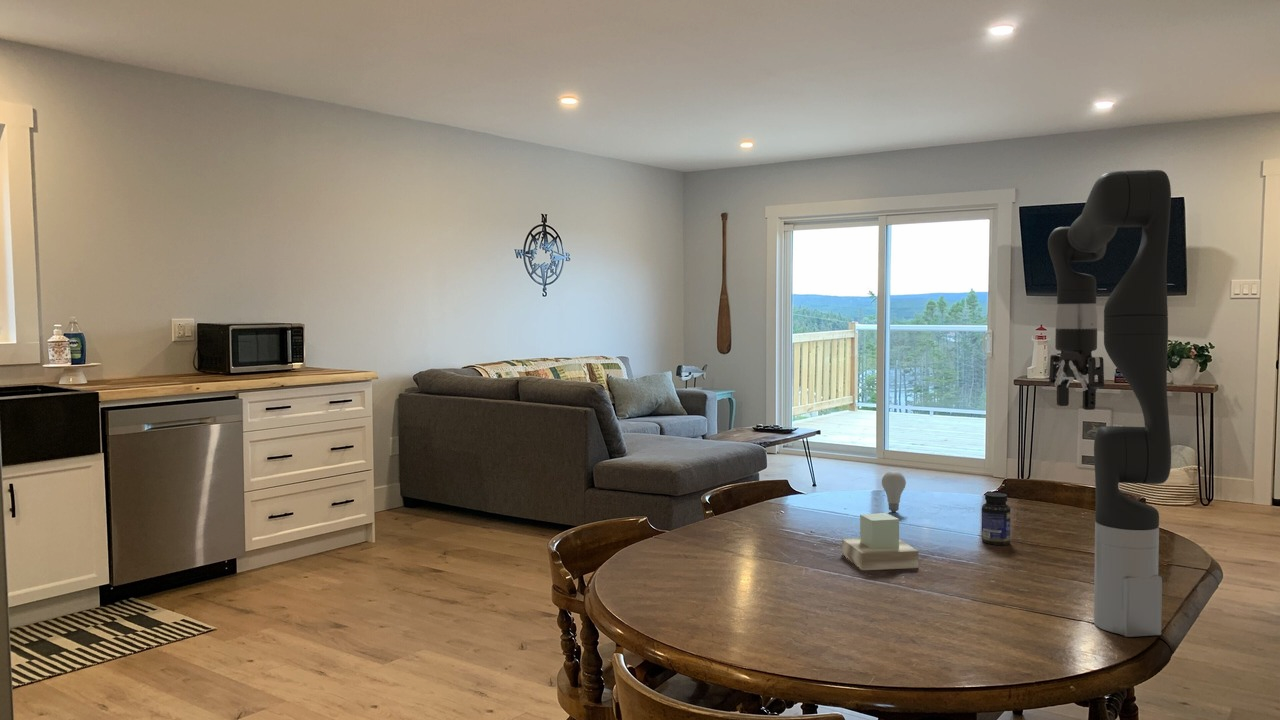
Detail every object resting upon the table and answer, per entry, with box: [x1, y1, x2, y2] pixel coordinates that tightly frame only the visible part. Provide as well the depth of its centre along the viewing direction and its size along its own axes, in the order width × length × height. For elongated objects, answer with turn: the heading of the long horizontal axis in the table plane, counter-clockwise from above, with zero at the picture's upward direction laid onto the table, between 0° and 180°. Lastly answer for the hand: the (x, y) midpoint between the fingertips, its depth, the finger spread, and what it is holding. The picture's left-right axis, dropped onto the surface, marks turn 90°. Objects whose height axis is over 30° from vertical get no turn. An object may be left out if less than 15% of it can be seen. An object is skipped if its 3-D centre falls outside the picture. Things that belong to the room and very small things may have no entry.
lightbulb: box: [881, 470, 907, 513], centre depth 237 cm, size 6×6×11 cm
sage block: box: [859, 512, 900, 549], centre depth 189 cm, size 6×6×6 cm
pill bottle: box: [981, 492, 1011, 546], centre depth 204 cm, size 6×6×11 cm
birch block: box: [841, 537, 919, 571], centre depth 190 cm, size 12×12×4 cm
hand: (1075, 407), depth 180 cm, fingers open, 8 cm apart
